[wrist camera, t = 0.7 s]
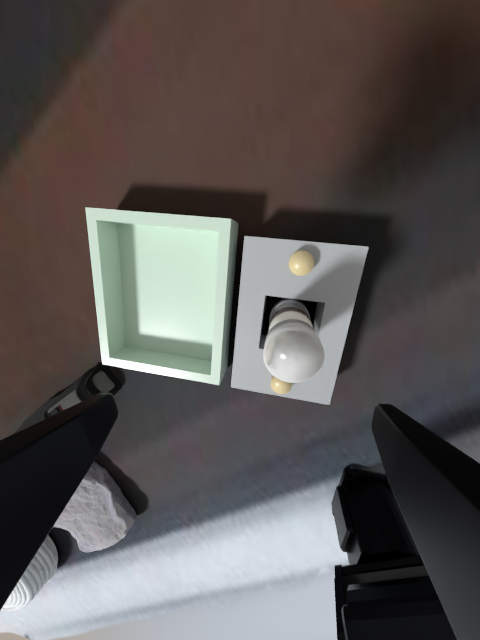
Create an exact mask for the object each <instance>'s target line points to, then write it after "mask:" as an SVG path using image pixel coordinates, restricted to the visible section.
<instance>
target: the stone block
mask: <svg viewBox="0 0 480 640" xmlns="http://www.w3.org/2000/svg"><path fill="white" fill-rule="evenodd" d="M135 520H136V513H135V511H134V509H133V508H132V507H131V505H130V504H129V502H128V501H127V499H126V498H125V497H124V496H123V494H122V492H121V490H120V488H119V487H118V485H117V484H116V483H115V481H114V480H113V478H112V477H111V476H110V475H109V473H108V472H107V470H106V469H105V468H103V467H101V466H100V465H98V464H97V463H95V462H93V464H92V466H91V467H90V469H89V471H88V472H87V474H86V475H85V477H84V478H83V480H82V482H81V483H80V485H79V486H78V488H77V490H76V491H75V493H74V494H73V496H72V498H71V499H70V501H69V502H68V504H67V505H66V507H65V509H64V510H63V512H62V513H61V515H60V517H59V518H58V520H57V521H56V523H55V524H54V526H53V527H57V528H62V529H65V530H68V531H69V532H70V533H71V534H72V536H73V537H74V538H75V539H76V540H77V542H78V546H79V549H80V550H81V551H83V552H92V551H95V550H102V549H105V548H107V547H110V546H112V545H114V544H115V543H117V542H118V541H119V540H121V539H122V538H123V537H124V536H125V535H126V534H127V533H128V531H129V530H130V528H131V527H132V525H133V523H134V522H135Z"/></svg>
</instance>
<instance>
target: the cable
mask: <svg viewBox="0 0 480 640" xmlns="http://www.w3.org/2000/svg"><path fill="white" fill-rule="evenodd" d="M57 563H58V553H57V549H56V546H55V544H54V542H53V540H52V539H51V537H50V536H49V535H48V536H47V537H46V539H45V540H44V542H43V544H42V545H41V547H40V548H39V550H38V551H37V553H36V555H35V556H34V558H33V559H32V561H31V563H30V564H29V566H28V567H27V569H26V571H25V572H24V574H23V575H22V577H21V578H20V580H19V582H18V583H17V585H16V586H15V588H14V590H13V591H12V593H11V594H10V596H9V598H8V599H7V601H6V602H5V604H4V605H3V607H2V609H1V611H14V610H18V609H21V608H23V607H25V606H26V605H27V604H28V603H29V602H30V601H31V600H32V599H33V598H34V597H35V596H36V595H37V594H38V592H39V591H40V589H41V588H42V587H43V586H44V585H45V584H46V583H47V582H49V581H50V580H51V579H52V577H53V575H54V574H55V572H56V570H57Z"/></svg>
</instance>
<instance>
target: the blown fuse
mask: <svg viewBox="0 0 480 640" xmlns="http://www.w3.org/2000/svg"><path fill="white" fill-rule="evenodd" d="M263 359H264V363H265V366H266V367H267V369H268V371H269V372H270V373H271V374H272V375H273V376H274V377H276V378H278V379H280V380H282V381H285V382H289V383H300V382H304V381H307V380H309V379H311V378H313V377H314V376H315V375H316V374H317V373H318V372H319V371H320V370H321V368H322V366H323V363H324V359H325V353H324V349H323V346H322V343H321V341H320V339H319V336H318V334H317V332H316V331H315V329H314V328H313V325H312V323H311V320H310V315H309V312H308V310H307V308H306V306H305V304H304V303H303V302H302V301H300V300H298V299H290V298H283V299H280V300H279V301H277V302H276V303H275V304H274V305H273V307H272V309H271V312H270V318H269V331H268V334H267V336H266V340H265V346H264V351H263Z"/></svg>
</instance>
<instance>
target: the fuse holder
mask: <svg viewBox="0 0 480 640" xmlns="http://www.w3.org/2000/svg"><path fill="white" fill-rule="evenodd" d="M368 248H369V247H366V246H355V245H343V244H332V243H321V242H309V241H298V240H286V239H275V238H263V237H252V236H244V245H243V257H242V268H241V279H240V290H239V302H238V313H237V324H236V335H235V347H234V358H233V369H232V380H231V387H232V388H238V389H243V390H249V391H254V392H260V393H266V394H271V395H277V396H282V397H288V398H293V399H299V400H305V401H310V402H316V403H321V404H327V405H330V401H331V397H332V393H333V389H334V385H335V381H336V377H337V373H338V368H339V364H340V360H341V356H342V352H343V348H344V344H345V340H346V336H347V332H348V328H349V324H350V320H351V316H352V312H353V308H354V304H355V300H356V296H357V292H358V288H359V284H360V280H361V276H362V272H363V268H364V264H365V260H366V256H367V252H368ZM267 296H274V297H282V298H290V299H299V300H307V301H315V302H317V307H316V312H315V317H314V322H313V328H314V329H315V331H316V332H317V334H318V336H319V339H320V341H321V343H322V346H323V349H324V353H325V359H324V363H323V366H322V368H321V370H320V371H319V372H318V373H317V374H316V375H315V376H314V377H313V378H311V379H309V380H307V381H304V382H300V383H289V382H285V381H282V380H280V379H278V378H276V377H274V376H273V375H272V374H271V373H270V372H269V371H268V369H267V367H266V366H265V363H264V359H263V351H264V346H265V340H266V335H262V329H263V321H264V313H265V305H266V297H267Z"/></svg>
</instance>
